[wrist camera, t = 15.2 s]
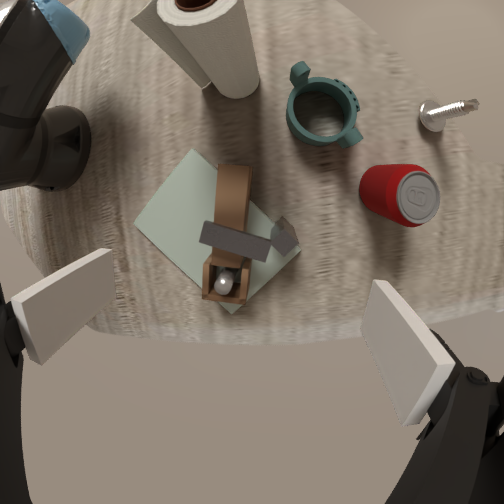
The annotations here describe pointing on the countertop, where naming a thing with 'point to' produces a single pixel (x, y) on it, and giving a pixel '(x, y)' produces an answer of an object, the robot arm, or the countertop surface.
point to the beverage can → (400, 193)
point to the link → (235, 216)
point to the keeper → (250, 239)
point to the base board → (201, 224)
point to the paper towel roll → (205, 41)
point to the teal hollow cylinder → (334, 90)
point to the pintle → (225, 280)
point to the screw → (443, 112)
